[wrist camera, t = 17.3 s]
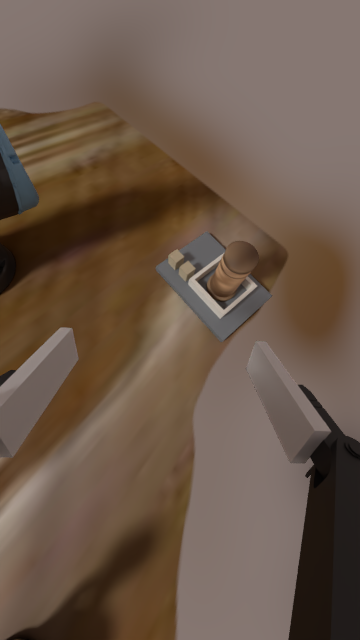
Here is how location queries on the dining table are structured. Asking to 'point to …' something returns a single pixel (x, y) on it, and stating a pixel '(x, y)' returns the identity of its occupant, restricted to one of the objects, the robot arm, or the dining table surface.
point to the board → (191, 279)
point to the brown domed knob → (232, 270)
